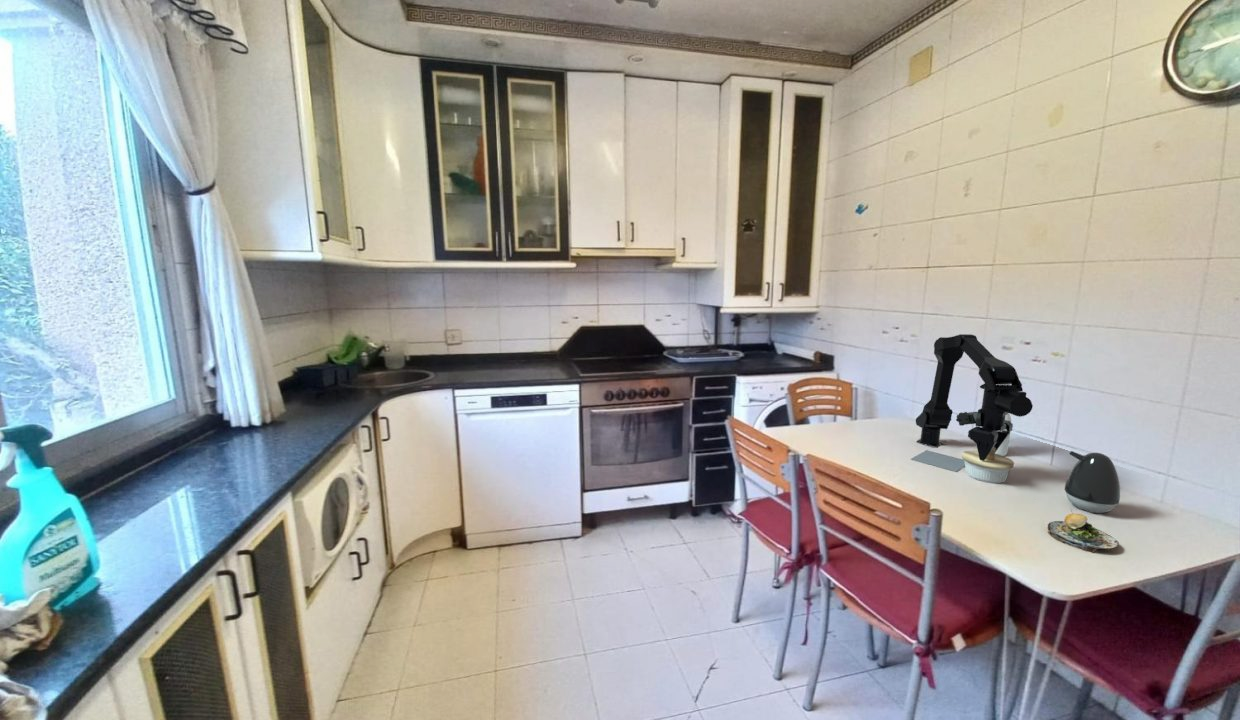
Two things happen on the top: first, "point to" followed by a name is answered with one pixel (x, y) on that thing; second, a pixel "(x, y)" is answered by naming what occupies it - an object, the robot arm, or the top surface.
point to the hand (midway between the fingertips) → (987, 456)
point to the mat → (940, 460)
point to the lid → (988, 460)
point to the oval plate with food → (1080, 534)
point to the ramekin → (986, 473)
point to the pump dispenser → (1093, 483)
